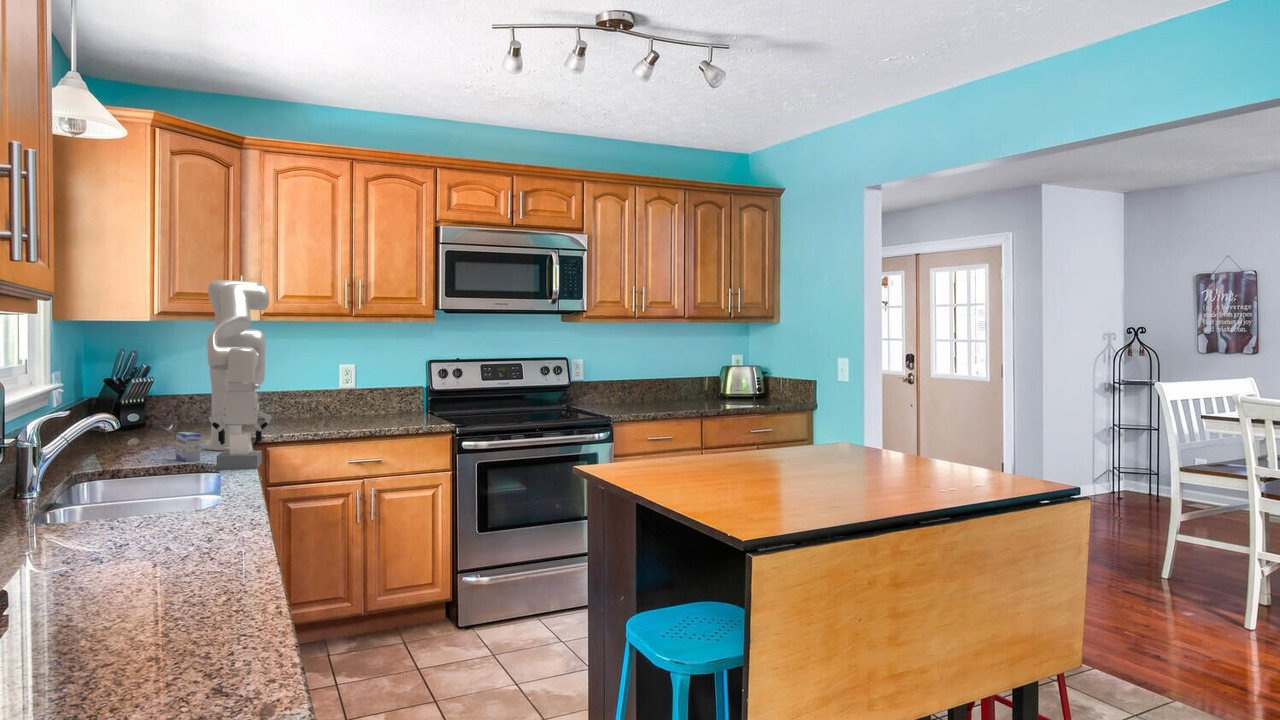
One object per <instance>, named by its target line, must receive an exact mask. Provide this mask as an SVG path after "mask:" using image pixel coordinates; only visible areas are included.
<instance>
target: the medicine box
mask: <svg viewBox="0 0 1280 720" xmlns="http://www.w3.org/2000/svg"><path fill="white" fill-rule="evenodd" d="M175 439H176V440H175V441H176V442H175V460H177V461H182V462H187V463H188V462H191V463H192V462H198V461H201V452H202V451H201V449H202V448H201V447H202V434H200V433H197V432H191V431H179V432H176V438H175Z"/></svg>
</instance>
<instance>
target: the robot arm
mask: <svg viewBox="0 0 1280 720" xmlns="http://www.w3.org/2000/svg"><path fill="white" fill-rule="evenodd" d="M207 290H208V291H207V292H208V293H207V294H208V298H209V302H210V305H211V306H212V309H213V312H214V317H215V320H214V321H215V323H214V328H213V329H212V330H211V332H210V333H209V335H208V339H207V342H206V343H207V345H206V350H207V354H206V355H207V356H206V357H207V365H208V366H209V379H210V386H211V387H210V388H211V415H210V416H208V421H209V422H210V423H211V427H210V429H211V430H210V433H211V434H210V435H211V436H210V438H211V439H210V444H206V446H205V449H206V450H208V451H221V452H222V451H230V434H232V433H243V431H242V426H253V427H254V428H255V429H256V431H255V441H254V442H255V443H254V444H255V445H260V442H262V431H263V430H264V429H265V428H266V427H267V426H268V425H269V423H270V422H271V420H272V416H271V415H270V414H267V413H265V412H264V411H260V400H259V399H260V398H259V394H258V392H256V390H259V389H261V385H263V383H264V382H265V377H266V375H265V374H266V336H265V334H264V333H263V332H262V330H260V329H255V328H250V327H251V325H252V318H251V316H252V315H251V310H254V311H265V310H267V309H268V307H269V305H270V294H269V293H270V292H269V290H268V288H267V287H266V285H264V283H262V282H260V281H259V282H258V281H246V280H244V281H243V280H234V279H233V280H232V279H231V280H230V279H218V280H213V281H211V282H210V283H209V284H208V288H207ZM249 328H250V329H249ZM260 417H261V418H262V419H265V420H264V422H262V424H260Z"/></svg>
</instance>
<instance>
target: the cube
mask: <svg viewBox="0 0 1280 720" xmlns="http://www.w3.org/2000/svg"><path fill="white" fill-rule="evenodd" d="M229 451H230V455H234V454H249V453H250V451H251V432H242V433H232V434H230V450H229Z"/></svg>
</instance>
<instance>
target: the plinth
mask: <svg viewBox="0 0 1280 720" xmlns="http://www.w3.org/2000/svg"><path fill="white" fill-rule="evenodd" d="M262 453H263V451H262V450H250V453H249V454H234V455H230V450H222V451H221V452H220V453H219V454H217V455H216V463H215V464H216V470H217V471H218V470H249V469H250V470H251V469H252V470H253V469H254V470H255V469H256V468H257V469H258V468H260V465H261V464H262V463H263V462H262V460H263V454H262Z"/></svg>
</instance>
